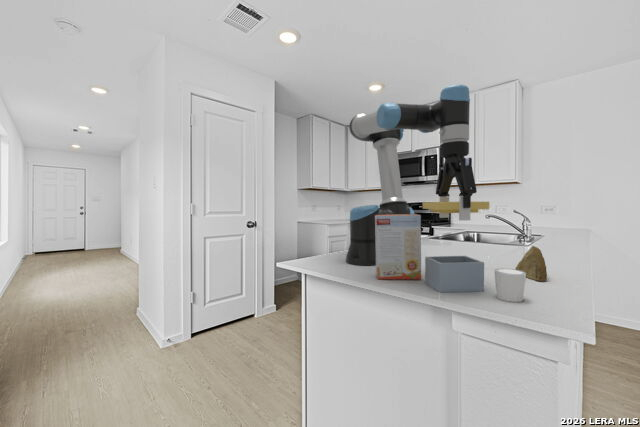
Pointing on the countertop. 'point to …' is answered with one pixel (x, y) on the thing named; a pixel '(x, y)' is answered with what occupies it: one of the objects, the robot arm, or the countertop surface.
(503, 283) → the white cup
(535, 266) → the rock
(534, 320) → the countertop surface
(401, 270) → the cracker box
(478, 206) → the lid
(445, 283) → the tub
